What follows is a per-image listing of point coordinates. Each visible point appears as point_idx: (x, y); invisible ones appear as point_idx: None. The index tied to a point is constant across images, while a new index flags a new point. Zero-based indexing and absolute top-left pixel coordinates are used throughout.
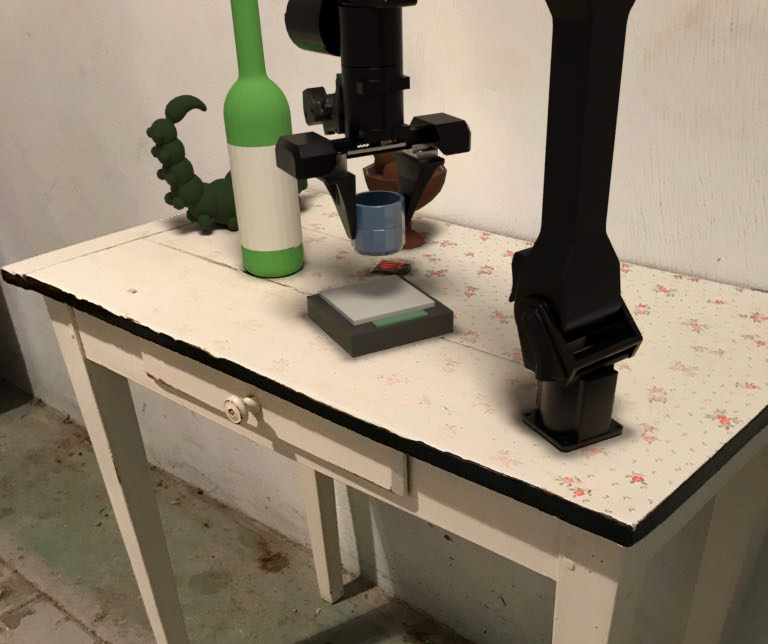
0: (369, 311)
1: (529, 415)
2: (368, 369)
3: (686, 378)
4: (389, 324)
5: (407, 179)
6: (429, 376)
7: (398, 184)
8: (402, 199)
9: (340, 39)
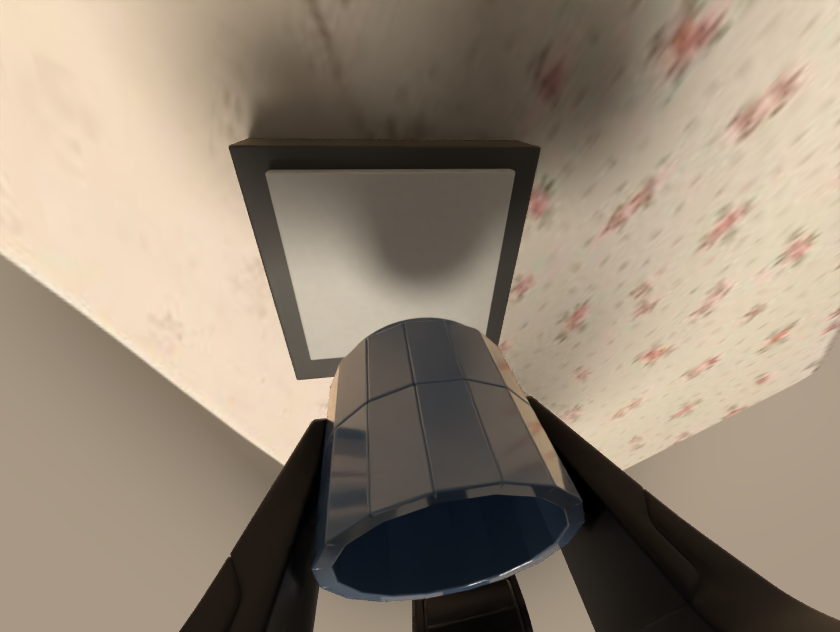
0: (354, 338)
1: None
2: (315, 385)
3: None
4: None
5: (634, 627)
6: None
7: (632, 542)
8: (528, 567)
9: None
